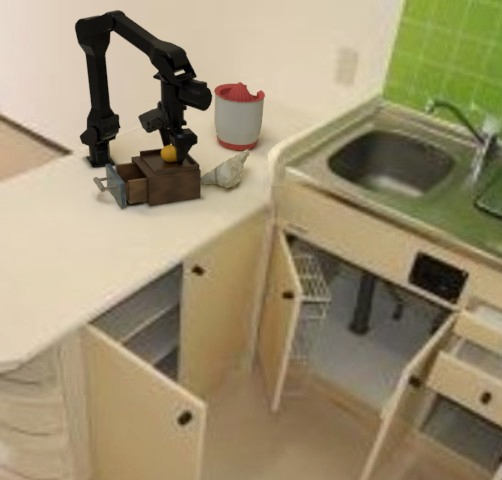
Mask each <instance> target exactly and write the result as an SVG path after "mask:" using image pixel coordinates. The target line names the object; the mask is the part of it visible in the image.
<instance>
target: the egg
mask: <svg viewBox="0 0 502 480" xmlns="http://www.w3.org/2000/svg"><path fill="white" fill-rule="evenodd" d="M161 157H162V158H163V160H165V161H166V162H176V161H177V158H176V151H175V147H174V146H173V145H172V144H171V145H167V146H165V147H164V146H163V147H162V150H161Z"/></svg>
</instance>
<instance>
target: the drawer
mask: <svg viewBox="0 0 502 480" xmlns="http://www.w3.org/2000/svg"><path fill="white" fill-rule="evenodd" d="M105 173H106V174H105V175H106V177H98V176H94V177H93V179H92V181H93V183H94V184H95V185H96V187H97V188H98V190H99V192H101V193H104V192H105V191H106V190H107V191H108V190H109V192H110V193H111V194H112V196H113V197H114V199H115V200H116V201H117V203H118V204H119V205H120V207H121V208H124V207H125V208H126V207H127V202H128V203H129V204H130V205H131V204H138V203H143V202H146V201H149V196H148V178H147V177H146V176H145V175H144V174H143V172H142V171H141V170H140V169H139V167H138V166H137V165H136V164H135V163H134V162H132V161H131V162H125V163H117V164H116V163H115V168H114V166H113V165H111V164H106V166H105ZM104 181H106V186H105V185H104V184H103V183H102V182H104Z"/></svg>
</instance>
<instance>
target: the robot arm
mask: <svg viewBox="0 0 502 480" xmlns="http://www.w3.org/2000/svg"><path fill="white" fill-rule="evenodd" d="M74 31H75V36H76V40H77V44H78V45H79V46H80V48H81V49H82V51H83V52H84V55H85V61H86V62H85V64H86V71H87V81H88V91H89V98H90V99H89V100H90V110H89V112H88V114H87V117H86V129H85V130H83V132H81V134H80V135H79V140H80V142H81V144H83V145H85V146H88V155H87V156H85V159H86V160H87V162H88V163H89V165H90V167H92V168H99V167H106V164H111V166H113V165H116V163H115V161H114V159H113V158H112V157H111V146H110V142H112V141H114V140H116V138H117V135H118V134H119V133H120V129H121V128H122V127H121V125H120V114H118V113H115V112H114V110H113V109H112V107H111V101H110V90H109V77H108V67H107V57H106V54H107V51H108V48H109V47H110V44H111V33H112V32H114V33H115V34H117V35H118V36H119V37H121V38H123V40H125V41H126V42H128V43H129V44H131V45H132V46H133V47H135V48H136V49H138V50H139V51H141V52H142V53H143V54H145V55H146V56H147V57H148V58H149V61H150V63H151V65H152V66H153V67H154V68H155V69H156V70H157V72H156V73H155V74H153V76H152V78H153V79H155V80H158V81H160V100H158V101H157V103H156V107H155V108H152V109H150V110H148V111H146V112H143V113H141V114H139V115H138V117H137V118H138V121H139V122H140V125H141V128H142V129H143V130H144V131H145V132H146V133H147V134H152V133H153V132H156V131H158V133H159V136H160V139H161V143H162V146H163V147H165V146H167V145H173V146H174V147H175V151H176V158H177V163H178V165H181V164H182V163H183V161H184V160H185V158H186V156H187V154H188V153H189V152H190V151H191V149H192V148H193V146H196V145H197V144H198V140H199V139H198V138H199V137H198V135H197V134H196V133H195V132H194V131H193V130H192V129H191V128H190V127H187V126H188V121H186V119H185V111H187V110H188V107H190V108H193V109H195V110H198V111H201V112H206V111H207V110H208V109H210V106H211V105H212V102H213V94H212V91H211V89H210V88H209V87H208V82H206V81H204V80H198V79H196V78H198V76H197V74H196V71H195V69H194V67H193V66H192V63H191V61H190V59H189V57H188V55H187V54H188V53H187V51H186V50H185V49H184V48H183V47H181V46H180V45H176V44H175V43H174V42H170V41H166V40H162V39H160V38H158V37H157V36H155V35H154V34H152V33H151V32H149V31H148V30H147V29H145V28H144V27H143V26H141V25H140V24H138V23H137V22H135V21H134V20H133V19H131V18H130V17H129V16H127V15H126V13H125V12H124V11H122V10H119V9H116V10H110V11H106V12H105V13H104V14H101V15H100V14H99V15H97V14H96V15H93V16H87V17H82V18H79V19H78V20H77V21H76V22H75V24H74ZM179 72H182V73H179ZM177 73H179V74H177ZM185 126H186V127H187V128H183V127H185Z"/></svg>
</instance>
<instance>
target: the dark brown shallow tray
mask: <svg viewBox="0 0 502 480" xmlns="http://www.w3.org/2000/svg"><path fill="white" fill-rule="evenodd" d="M162 148H163V147H162ZM162 148H154V149H145V150H139V156H140V157H141V158H142V159H143V160H144V162H145V163H146V164H147V165H148V166H149V168H150V169H151V170H152V171H153V172H154V173H155V175H156V176H160V175H167V174H174V173H181V172H188V171H195V170H199V169H200V164H199V162H198V161H196V160H195V158H193V156H192V155H191V154H190V153H189V152H188V154H187V156H186V158H185V160H184V161H183V163H182V164H181V165H178V163H177V161H176V162H166V161H165V160H163V158H162V157H161V150H162Z"/></svg>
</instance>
